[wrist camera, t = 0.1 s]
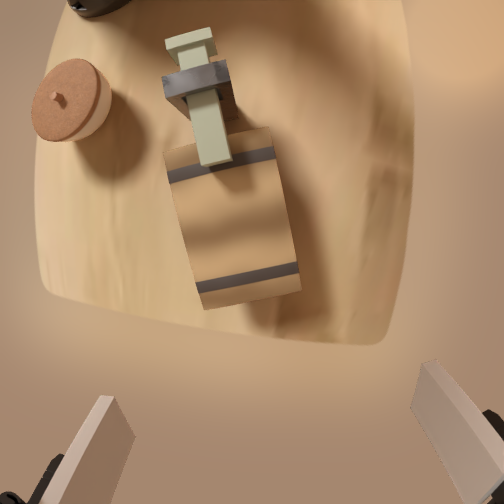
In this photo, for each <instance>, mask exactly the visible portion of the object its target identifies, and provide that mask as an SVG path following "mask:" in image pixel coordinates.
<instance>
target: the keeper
mask: <svg viewBox="0 0 504 504" xmlns="http://www.w3.org/2000/svg"><path fill="white" fill-rule="evenodd" d="M162 82H163V88H164V93H165V98H166V99H167V100H168V101H169V102H170V103H171V104H172V105H174V106H175V107H176V108H177V109H178V110H179V111H180V112H181V113H182V114H184V115H185V116H186V117H187V118H188V119H189V120H190V121H191V117H190V113H189V108H188V103H187V98H186V96H188V95H192V94H195V93H199V92H203V91H206V90H210V89H214V88H216V89H217V93H218V98H219V102H220V106H221V111H222V115H223V120H224V121H227V120H231V119H235V118H239V117H238V112H237V107H236V103H235V98H234V94H233V89H232V84H231V80H230V76H229V72H228V68H227V63H226V59H225V60H221V61H216V62H212V63H208V64H204V65H200V66H197V67H193V68H189V69H186V70H182V71H179V72H176V73H173V74H169V75H166V76H163V77H162Z"/></svg>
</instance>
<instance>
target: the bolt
mask: <svg viewBox="0 0 504 504" xmlns="http://www.w3.org/2000/svg"><path fill="white" fill-rule="evenodd" d="M165 44H166V50H167V51H168V53H169V54H170V56H171V57H172V59H173V60H174V61H175V63H176V64H177V65H180V69H181V71H182V70H186V69H189V68H193V67H197V66H200V65H204V64H208V63H210V58H209V57H210V56H214V55H217V50H216V46H215V43H214V39H213V36H212V32H211V29H210V27H207V28H203V29H199V30H195V31H192V32H188V33H184V34H181V35H178V36H174V37H171V38H168V39H165ZM186 98H187V103H188V108H189V113H190V117H191V122H192V127H193V131H194V136H195V141H196V145H197V150H198V154H199V159H200V163H201V166H205V167H209V166H213V165H217V164H221V163H225V162H230V161H233V159H232V155H231V150H230V146H229V142H228V137H227V133H226V128H225V124H224V120H223V115H222V111H221V106H220V102H219V98H218V93H217V89H216V88H214V89H210V90H206V91H203V92H199V93H195V94H192V95H188V96H186Z"/></svg>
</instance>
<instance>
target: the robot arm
mask: <svg viewBox="0 0 504 504" xmlns="http://www.w3.org/2000/svg"><path fill="white" fill-rule="evenodd" d="M67 1H68V4H69V6H70V7H71V9H73V10H74V11H75V12H76V13H77V14H79V15H81V16H84V17H96V16H100V15H104V14H107V13H109V12H112V11H114V10H116V9H118V8H120V7H122V6H123V5H125V4H126V3H128V2H129V1H131V0H67ZM411 410H412V412H413V413H414V415H415V416H416V418H417V420H418V421H419V423H420V425H421V427H422V428H423V430H424V432H425V433H426V435H427V437H428V439H429V440H430V442H431V444H432V445H433V447H434V449H435V451H436V452H437V454H438V456H439V457H440V460H441V461H442V463H443V465H444V467H445V469H446V470H447V472H448V474H449V476H450V478H451V480H452V482H453V483H454V485H455V487H456V489H457V491H458V493H459V495H460V497H461V499H462V501H463V503H464V504H481V503H483V502H484V501H485V500H486V499H487V498H488V497H489V496H490V495H491V496H492V497H493V498H492V499H491V501H489V502H488V503H487V504H504V421H503V420H502V419H501V417H500V416H499V415H498V414H496V413H494V412H492V411H491V410H486V411H485V412H483V413H481V412H480V410H479V409H478V408H477V407H476V405H475V404H474V403H473V402H472V401H471V399H470V398H469V397H468V396H467V395H466V393H465V392H464V391H463V390H462V389H461V388H460V386H459V385H458V384H457V383H456V382H455V380H454V379H453V378H452V377H451V376H450V375H449V374H448V373H447V371H446V370H445V369H444V368H443V367H442V366H441V364H440V363H439V362H438V361H437V360H436V359H434V360H431V361H428V362H425V363H422V364H421V369H420V374H419V378H418V382H417V386H416V390H415V394H414V397H413V401H412V404H411ZM135 437H136V436H135V435H134V433H133V431H132V429H131V427H130V426H129V424H128V422H127V420H126V418H125V416H124V415H123V413H122V411H121V409H120V407H119V405H118V403H117V401H116V399H115V397H113V396H103V395H100V397H99V399H98V400H97V402H96V403H95V405H94V407H93V408H92V410H91V411H90V413H89V415H88V417H87V418H86V420H85V421H84V423H83V425H82V426H81V428H80V430H79V432H78V433H77V435H76V437H75V438H74V440H73V442H72V444H71V445H70V447H69V449H68V451H67V452H66V454H65V455H63V454H59V455H57V456H56V457H55V458H54V459H53V460H52V461H51V462H50V464H49V466H48V467H47V469H46V470H47V471H45V473H44V474H43V478H41V480H40V482H39V483H38V485H37V487H36V489H35V491H34V492H33V494H32V496H31V498H30V500H29V501H28V503H27V504H110V503H111V500H112V498H113V495H114V492H115V489H116V487H117V484H118V481H119V479H120V476H121V473H122V471H123V468H124V465H125V463H126V460H127V457H128V455H129V453H130V450H131V448H132V445H133V442H134V440H135ZM0 504H26V503H25V502H24V501H23V500H22V499H21V498H20V497H19V496H17V495H16V494H15V493H13V492H4V493H2V494H1V495H0Z"/></svg>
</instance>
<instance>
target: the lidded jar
mask: <svg viewBox="0 0 504 504" xmlns="http://www.w3.org/2000/svg"><path fill="white" fill-rule="evenodd" d="M111 102H112V93H111V88H110V85H109V83H108V81H107V79H106V77H105V76H104V75H103V74H102V73H101V72H100V71H99V70H98V69H96V68H95V67H94V66H93V65H92V64H91V63H89V62H88V61H86V60H83V59H71V60H67V61H65V62H63V63H61V64H59V65H57V66H56V67H55V68H54V69H52V70H51V71H50V72H49V73H48V74H47V76H46V77H45V78H44V79H43V81H42V82H41V84H40V85H39V87H38V89H37V92H36V94H35V97H34V100H33V105H32V122H33V126H34V129H35V130H36V132H37V134H38V135H39V136H40V137H41V138H43V139H44V140H47V141H53V142H59V141H61V142H69V141H76V140H80V139H83V138H85V137H87V136H89V135H91V134H92V133H94V132H95V131H96V130H97V129H98V128H99V127H100V126H101V125H102V123H103V122H104V121H105V119H106V117H107V115H108V113H109V111H110V107H111Z"/></svg>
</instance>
